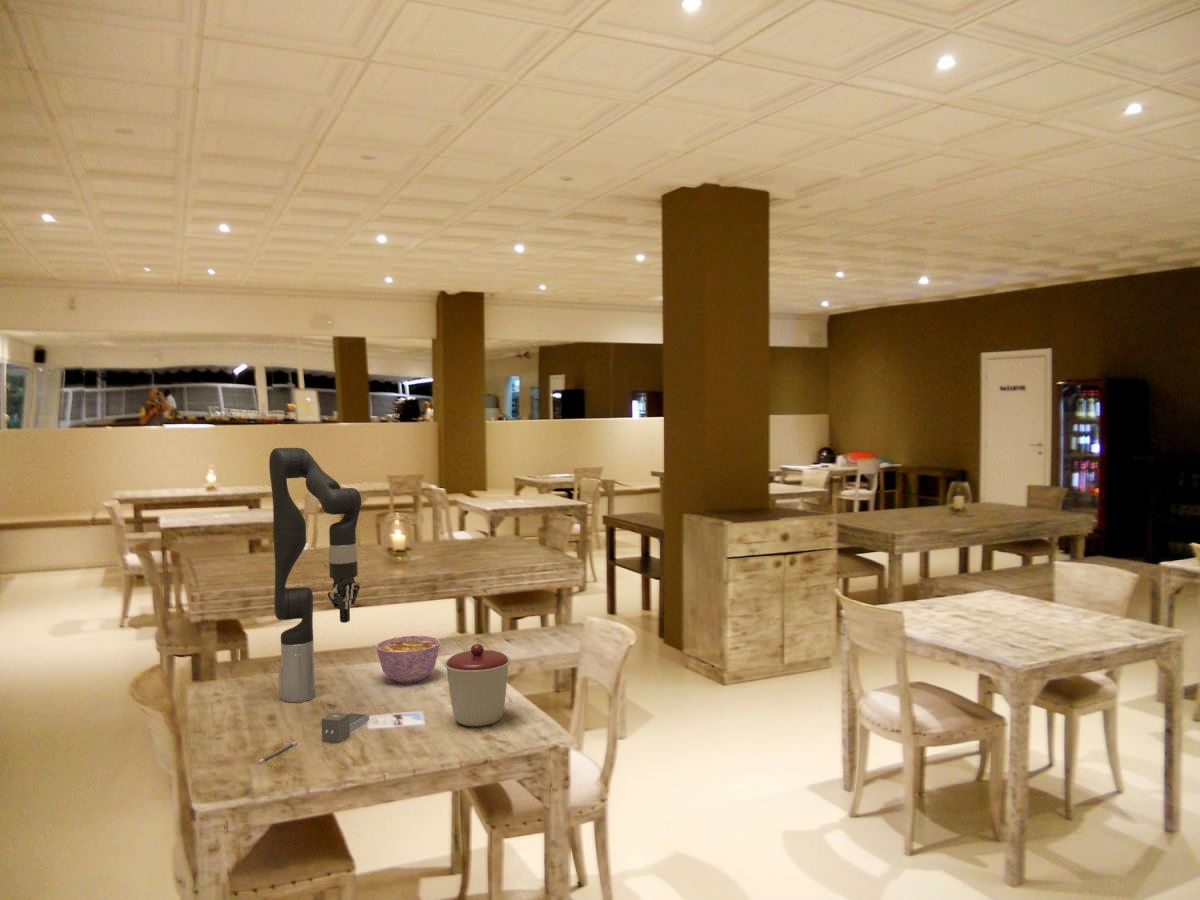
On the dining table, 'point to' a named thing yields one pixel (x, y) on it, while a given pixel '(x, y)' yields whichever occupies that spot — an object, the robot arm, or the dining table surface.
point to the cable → (277, 752)
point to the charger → (335, 727)
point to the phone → (357, 720)
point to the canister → (477, 685)
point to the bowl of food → (408, 657)
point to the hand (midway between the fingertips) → (345, 621)
